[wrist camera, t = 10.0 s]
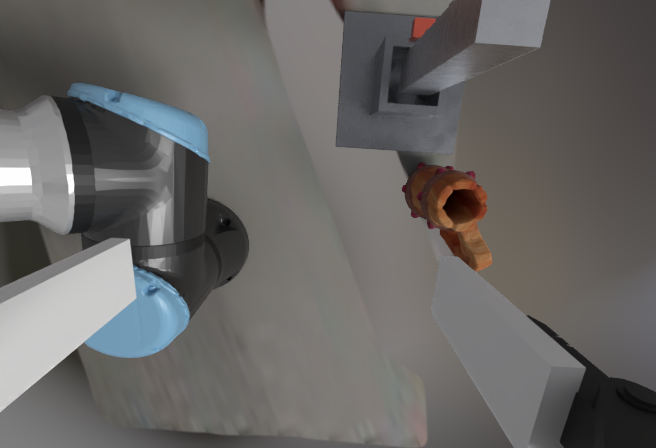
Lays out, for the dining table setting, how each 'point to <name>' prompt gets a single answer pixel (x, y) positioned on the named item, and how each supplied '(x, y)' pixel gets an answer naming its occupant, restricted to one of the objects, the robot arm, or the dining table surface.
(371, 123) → the stand base
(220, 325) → the dining table surface
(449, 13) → the column
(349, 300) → the dining table surface
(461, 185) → the mug
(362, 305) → the dining table surface
